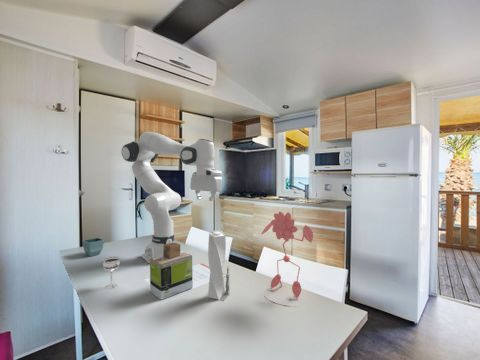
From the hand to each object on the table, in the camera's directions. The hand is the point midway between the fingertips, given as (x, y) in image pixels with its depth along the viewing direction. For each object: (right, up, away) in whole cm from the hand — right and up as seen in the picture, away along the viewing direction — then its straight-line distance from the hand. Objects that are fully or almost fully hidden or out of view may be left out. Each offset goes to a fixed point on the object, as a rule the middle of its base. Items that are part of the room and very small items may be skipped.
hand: (205, 200), depth 119 cm
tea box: (-12, -38, -16) cm, 42 cm away
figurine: (+34, -38, -18) cm, 55 cm away
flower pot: (-72, -36, +27) cm, 85 cm away
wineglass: (-39, -37, -13) cm, 56 cm away
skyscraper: (+8, -38, -20) cm, 44 cm away
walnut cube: (-12, -23, -16) cm, 30 cm away
